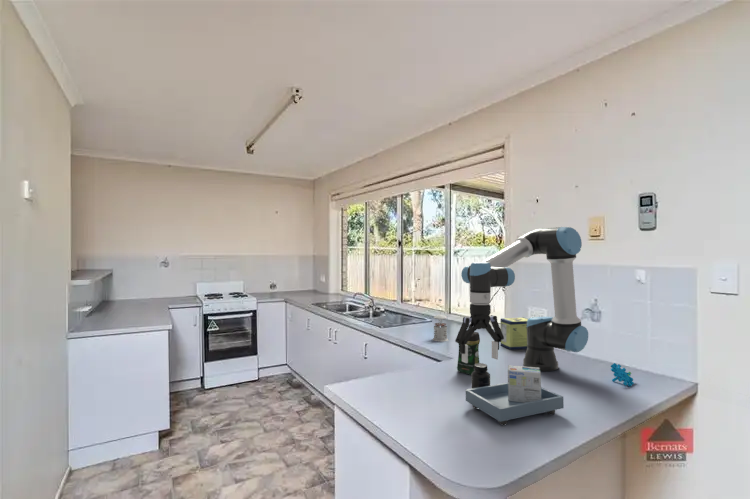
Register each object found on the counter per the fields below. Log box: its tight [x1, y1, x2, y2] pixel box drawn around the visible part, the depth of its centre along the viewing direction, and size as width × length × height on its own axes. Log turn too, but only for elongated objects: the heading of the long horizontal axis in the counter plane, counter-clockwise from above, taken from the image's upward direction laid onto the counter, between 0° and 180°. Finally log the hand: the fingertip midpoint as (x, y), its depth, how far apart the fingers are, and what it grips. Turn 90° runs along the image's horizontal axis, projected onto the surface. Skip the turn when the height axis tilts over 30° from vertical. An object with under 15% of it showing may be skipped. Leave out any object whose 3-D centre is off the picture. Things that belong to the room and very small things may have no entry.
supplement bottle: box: [470, 362, 491, 389], centre depth 145 cm, size 7×7×12 cm
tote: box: [465, 382, 564, 426], centre depth 132 cm, size 18×26×6 cm
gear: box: [610, 362, 635, 387], centre depth 159 cm, size 11×6×10 cm
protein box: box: [499, 316, 529, 351], centre depth 218 cm, size 10×16×16 cm
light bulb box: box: [507, 364, 542, 403], centre depth 134 cm, size 11×7×11 cm, turn 71°
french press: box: [432, 298, 449, 343], centre depth 238 cm, size 10×12×25 cm
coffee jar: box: [456, 331, 481, 375], centre depth 174 cm, size 10×8×19 cm
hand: (480, 360), depth 145 cm, fingers open, 13 cm apart
